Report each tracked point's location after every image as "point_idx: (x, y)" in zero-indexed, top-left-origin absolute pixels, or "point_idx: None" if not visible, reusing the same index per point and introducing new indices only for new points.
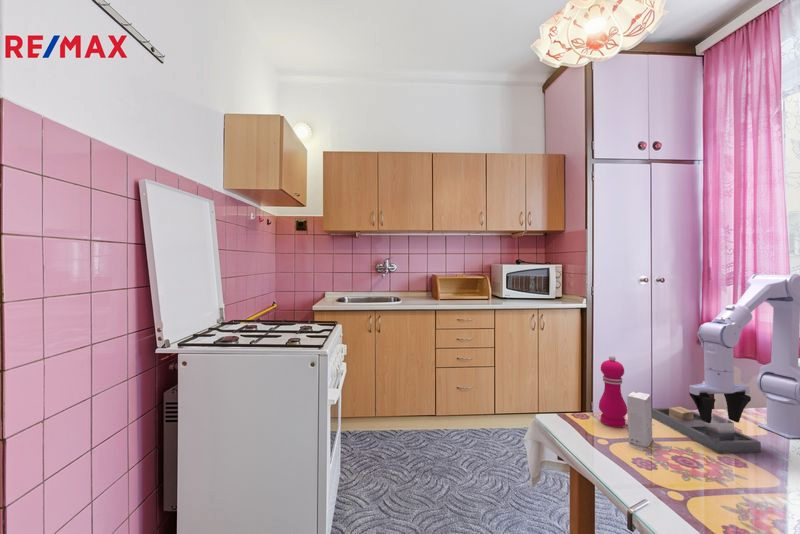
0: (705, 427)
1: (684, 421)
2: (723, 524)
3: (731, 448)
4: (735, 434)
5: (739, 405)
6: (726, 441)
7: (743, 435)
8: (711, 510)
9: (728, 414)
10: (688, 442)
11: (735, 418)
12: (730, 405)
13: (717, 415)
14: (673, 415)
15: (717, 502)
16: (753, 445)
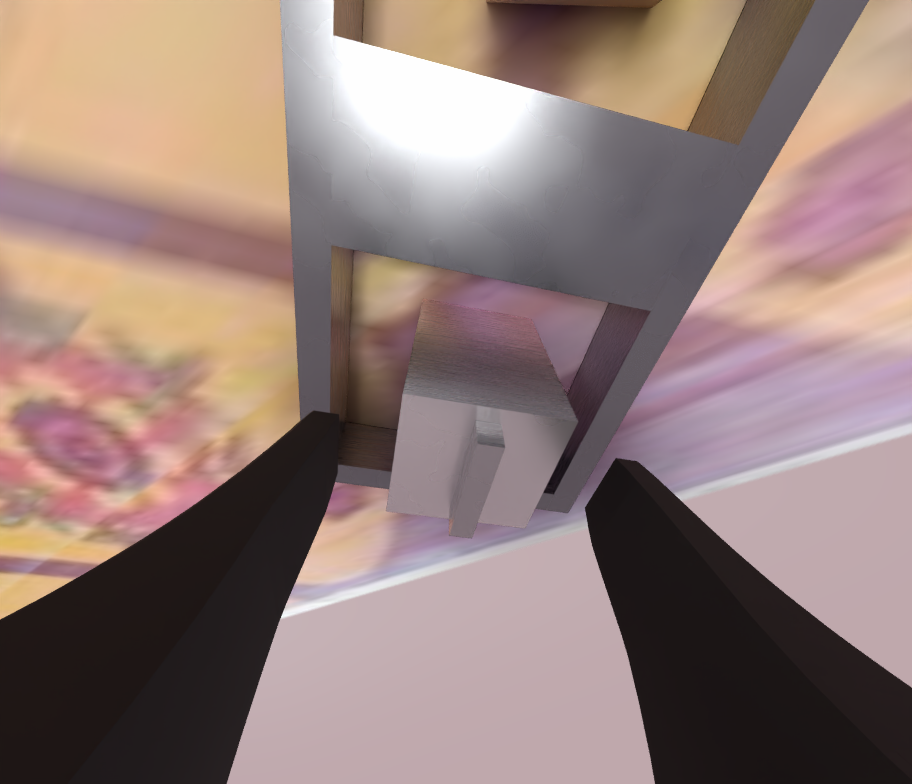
0: (414, 342)
1: (402, 95)
2: None
3: None
4: (591, 404)
5: (651, 731)
6: (376, 477)
7: (586, 450)
8: (15, 603)
9: (636, 492)
10: (253, 305)
11: (600, 529)
12: (699, 620)
13: (492, 478)
14: None
15: None
16: None
